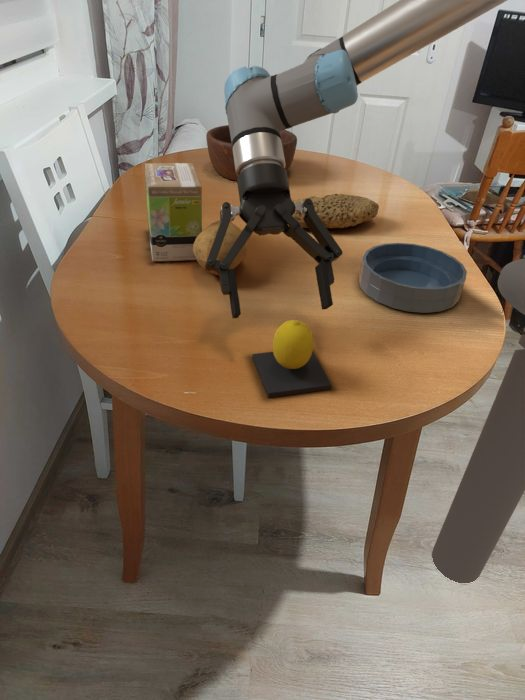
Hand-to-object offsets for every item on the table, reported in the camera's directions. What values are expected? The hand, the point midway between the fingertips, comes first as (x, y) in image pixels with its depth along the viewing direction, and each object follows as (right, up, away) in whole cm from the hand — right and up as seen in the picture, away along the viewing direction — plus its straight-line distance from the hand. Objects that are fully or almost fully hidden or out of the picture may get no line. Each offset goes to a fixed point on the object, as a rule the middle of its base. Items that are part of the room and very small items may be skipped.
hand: (283, 311), depth 74 cm
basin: (+24, +6, +22) cm, 33 cm away
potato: (-11, +10, +24) cm, 28 cm away
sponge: (+13, +23, +45) cm, 53 cm away
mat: (+1, -9, -1) cm, 9 cm away
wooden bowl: (-6, +45, +74) cm, 87 cm away
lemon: (+1, -8, -1) cm, 8 cm away
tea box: (-21, +16, +32) cm, 41 cm away
